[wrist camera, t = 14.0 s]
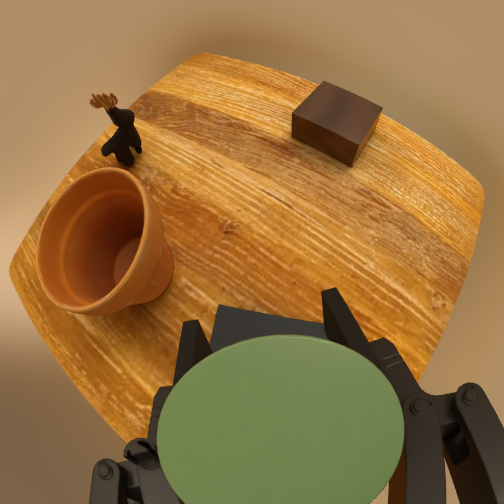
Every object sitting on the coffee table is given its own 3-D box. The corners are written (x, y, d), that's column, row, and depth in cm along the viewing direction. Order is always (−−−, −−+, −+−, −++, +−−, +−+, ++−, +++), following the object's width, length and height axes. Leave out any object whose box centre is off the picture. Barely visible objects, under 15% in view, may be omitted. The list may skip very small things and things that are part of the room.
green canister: (341, 346, 15) (428, 349, 5) (318, 440, 13) (360, 541, 3) (239, 329, 16) (180, 309, 6) (219, 422, 14) (145, 506, 4)
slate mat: (357, 328, 29) (358, 328, 28) (335, 427, 25) (336, 429, 24) (219, 304, 31) (218, 304, 30) (198, 402, 27) (197, 403, 27)
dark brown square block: (375, 129, 37) (382, 107, 32) (351, 167, 35) (359, 145, 30) (321, 103, 40) (323, 80, 35) (291, 136, 38) (291, 112, 33)
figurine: (163, 154, 39) (123, 83, 25) (128, 185, 38) (76, 122, 24) (133, 129, 42) (96, 69, 28) (103, 156, 41) (58, 101, 27)
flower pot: (140, 348, 30) (70, 346, 18) (85, 272, 34) (22, 241, 22) (218, 267, 32) (182, 221, 20) (150, 201, 36) (104, 145, 24)
